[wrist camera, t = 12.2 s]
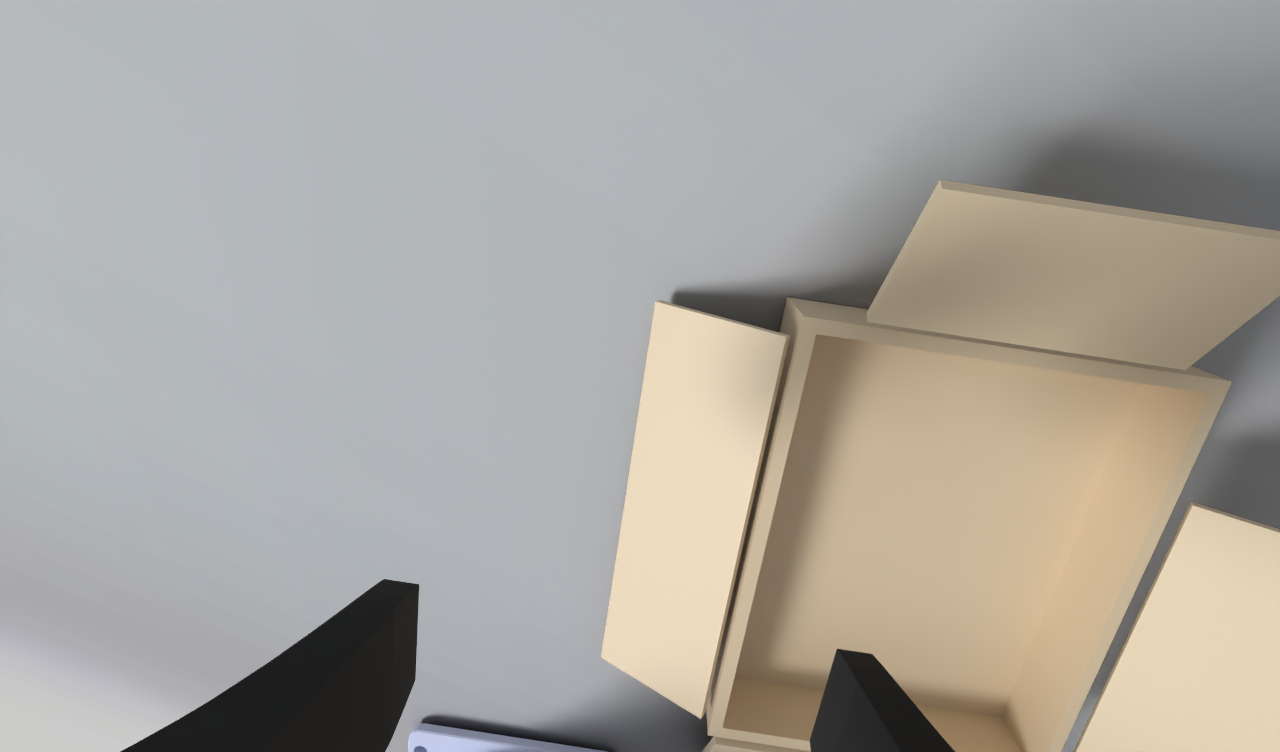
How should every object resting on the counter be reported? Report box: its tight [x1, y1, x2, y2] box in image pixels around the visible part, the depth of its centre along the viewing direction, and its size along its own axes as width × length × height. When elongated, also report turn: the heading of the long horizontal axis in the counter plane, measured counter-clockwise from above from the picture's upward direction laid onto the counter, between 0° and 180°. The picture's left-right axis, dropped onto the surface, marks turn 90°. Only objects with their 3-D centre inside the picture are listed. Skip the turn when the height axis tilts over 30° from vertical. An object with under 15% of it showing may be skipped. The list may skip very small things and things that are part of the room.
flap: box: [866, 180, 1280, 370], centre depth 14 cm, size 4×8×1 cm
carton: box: [601, 297, 1232, 752], centre depth 20 cm, size 18×15×3 cm
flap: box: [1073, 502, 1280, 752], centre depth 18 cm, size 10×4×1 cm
